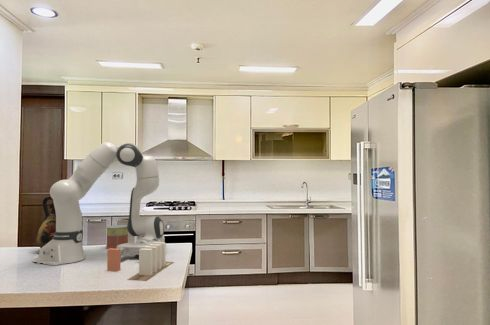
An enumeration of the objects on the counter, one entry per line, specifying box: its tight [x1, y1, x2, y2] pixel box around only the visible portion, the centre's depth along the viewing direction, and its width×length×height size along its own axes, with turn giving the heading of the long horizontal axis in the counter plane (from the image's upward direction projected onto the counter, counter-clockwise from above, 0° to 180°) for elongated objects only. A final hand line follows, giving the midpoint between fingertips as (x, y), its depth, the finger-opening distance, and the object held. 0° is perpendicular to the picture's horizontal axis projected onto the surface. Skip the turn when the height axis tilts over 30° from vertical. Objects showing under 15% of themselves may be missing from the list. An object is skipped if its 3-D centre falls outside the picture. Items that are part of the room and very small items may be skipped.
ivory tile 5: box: [138, 248, 153, 275], centre depth 123 cm, size 2×5×10 cm, turn 80°
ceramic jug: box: [36, 195, 56, 249], centre depth 168 cm, size 17×15×30 cm
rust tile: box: [106, 248, 122, 272], centre depth 129 cm, size 2×5×10 cm, turn 80°
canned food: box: [106, 224, 129, 250], centre depth 176 cm, size 11×11×12 cm
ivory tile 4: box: [144, 246, 157, 272], centre depth 127 cm, size 2×5×10 cm, turn 80°
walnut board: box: [127, 261, 175, 282], centre depth 129 cm, size 8×26×1 cm, turn 170°
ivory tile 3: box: [149, 244, 162, 269], centre depth 131 cm, size 2×5×10 cm, turn 80°
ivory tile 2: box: [153, 242, 167, 267], centre depth 135 cm, size 2×5×10 cm, turn 80°
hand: (129, 252), depth 141 cm, fingers open, 8 cm apart
